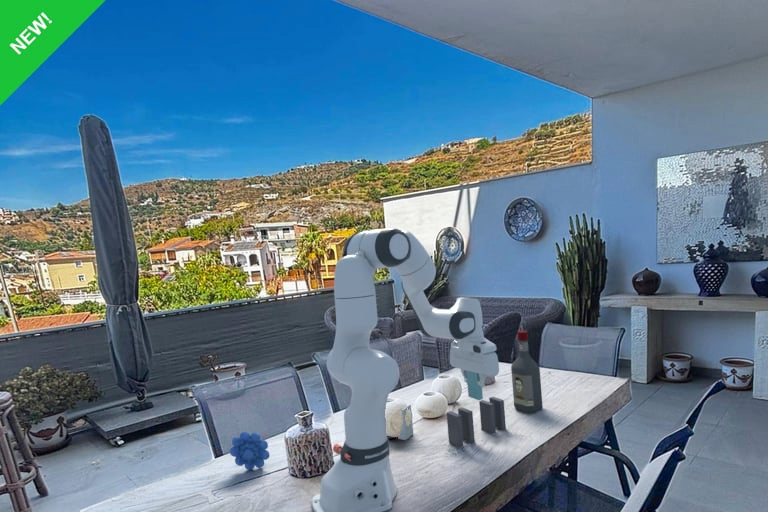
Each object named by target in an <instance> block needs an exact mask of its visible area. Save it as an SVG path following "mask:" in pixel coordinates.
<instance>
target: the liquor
mask: <svg viewBox="0 0 768 512" xmlns="http://www.w3.org/2000/svg"><path fill="white" fill-rule="evenodd" d="M528 336H529V335H528V331H527V330H518V331H517V341H518V357H517V358H516V359H515V360H514V361H513V362H512V363H511V366H510V369H511V382H512V396H513V406H514V408H515V410H516V411H517V412H521V413H525V414H536V413H537V412H540V411H542V409H543V407H544V406H543V397H542V396H543V394H542V385H541V383H542V382H541V380H542V379H541V370H540V369H541V368H540V366H539V364H538V363H537V362H536V361H535V360H534V359H533V358H532V357H531V355H530V353H529V352H530V351H529V341H528V340H529V338H528Z"/></svg>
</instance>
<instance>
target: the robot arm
mask: <svg viewBox="0 0 768 512" xmlns="http://www.w3.org/2000/svg"><path fill="white" fill-rule="evenodd" d="M345 240H346V241H345V242H344V245H343V250H342V256H341V258H339V259H338V260H337V261H336V264H335V267H334V277H333V278H334V280H333V281H334V282H333V283H334V284H333V293H334V307H335V319H336V321H335V322H336V326H335V337H334V341H333V347H332V348H331V350H330V351H329V353H328V355H327V357H326V369H327V371H328V374H330V375H331V376H332V378H333V379H335V380H336V381H337V382H339V383H340V384H343V385H346V386H347V387H350V389H351V399H350V404H349V405H348V406H347V407H346V408H345V410H344V412H343V422H344V434H345V435H344V436H345V440H344V443H343V446H341V445H340V444H338V443H335V444H334V445H333V446H332V451H333V452H334V453H335V454H336V455H340V456H339V457H340V458H338V460H337V461H336V462H335V463H334V465H332V466H331V468H330V469H328V471H327V472H326V473H325V474H324V475H323V476H322V479H321V481H320V488H319V489H320V490H319V493H317V494H316V495H315V494H314V496H313V497H312V500H311V507H312V511H313V512H386V511H389V510H390V509H392V508H393V500H394V499H395V497H396V495H397V492H398V489H397V485H396V483H395V479H394V477H393V473H392V469H391V463H390V440H389V437H387V434H386V418H385V409H386V406H387V402H388V398H389V394H390V393H391V392H392V391H393V390H394V389H395V388H396V386H397V385H398V383H399V379H400V367H399V365H398V362H397V360H395V358H393V356H392V357H391V356H390V355H389V354H387V353H386V352H384V351H382V350H377V349H374V348H370V339H371V335H372V332H373V330H374V329H375V328H376V327H377V325H378V323H379V321H378V318H379V317H378V309H377V295H376V286H375V279H374V278H375V273H376V271H377V269H385V268H394V270H395V271H396V273H397V275H398V276H399V278H400V280H401V288H402V291H403V294H404V296H405V298H406V300H407V302H408V303H409V305H410V308H411V309H412V311H413V314H414V316H415V318H416V320H417V325H418V328H419V330H420V332H421V333H422V335H423V336H425V337H426V338H434V339H435V338H437V339H438V338H439V339H447V340H453V341H452V342H450V349H449V364H450V365H451V367H452V368H456V369H460V372H461V374H462V377H463V379H464V380H463V381H464V382H465V383H466V384H467V371H470V372H474V373H477V374H479V377H480V380H479V381H477V382H478V386H479V387H482V388H483V387H485V386H486V385H485V381H486V378H487V377H488V378H493V377H496V376H498V374H499V372H500V365H499V364H500V363H499V358H498V354H497V353H496V351H497V345H496V344H495V343H493V342H492V341H490V340H488V339H487V338H486V337H485V336H484V335H485V334H484V331H483V321H484V320H483V310H482V307H481V302H480V300H479V298H477V297H473V296H459V297H457V298H456V301H455V303H454V304H453V305H452V306H451V307H450V308H449V309H447V308H446V309H445V308H437V307H435V306H433V305H432V304H430V301H429V300H428V298H427V296H426V294H425V292H424V291H425V290H426V289H428V288H429V287H430V286H431V285H432V284H433V282H434V280H435V278H436V274H437V268H436V265H435V263H434V260H433V259H432V256H430V254H429V252H428V251H427V250H426V248H425V247H424V245H423V244H422V243H421V242H420V240H419V239H418V238H417V237H416V236H415V235H414V234H413V233H412V232H410V231H408V230H401V229H398V228H394V227H386V228H371V229H367V230H363V231H358V232H355V233H353V234H351V235H350V236H348V237H347V238H346V239H345Z"/></svg>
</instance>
